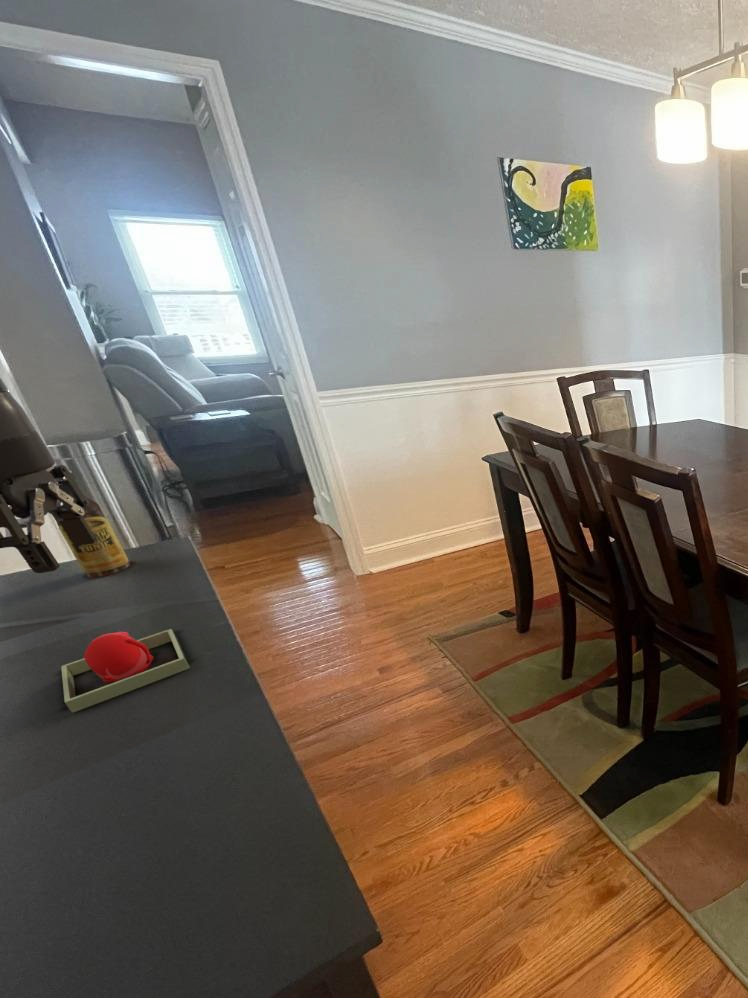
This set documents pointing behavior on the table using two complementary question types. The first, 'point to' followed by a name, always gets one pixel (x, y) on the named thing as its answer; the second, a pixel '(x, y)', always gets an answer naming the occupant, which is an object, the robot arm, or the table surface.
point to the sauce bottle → (97, 544)
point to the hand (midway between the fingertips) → (68, 556)
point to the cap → (117, 656)
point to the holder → (125, 684)
